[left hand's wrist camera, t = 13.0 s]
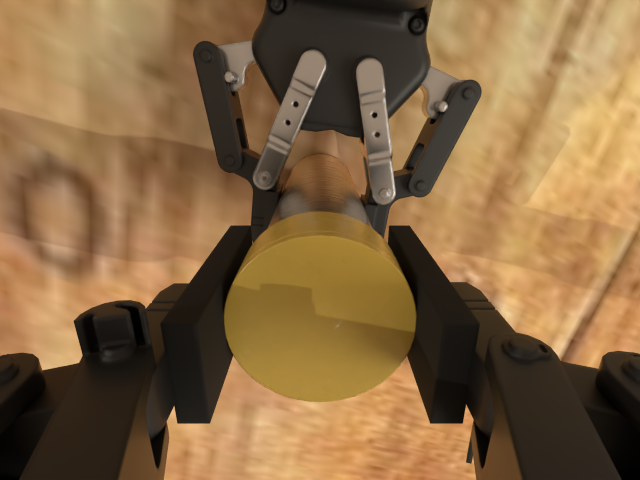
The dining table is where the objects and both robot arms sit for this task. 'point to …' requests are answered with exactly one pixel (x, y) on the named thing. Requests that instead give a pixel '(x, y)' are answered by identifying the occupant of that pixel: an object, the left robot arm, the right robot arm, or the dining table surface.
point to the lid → (320, 308)
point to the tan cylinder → (320, 190)
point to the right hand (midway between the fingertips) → (314, 254)
